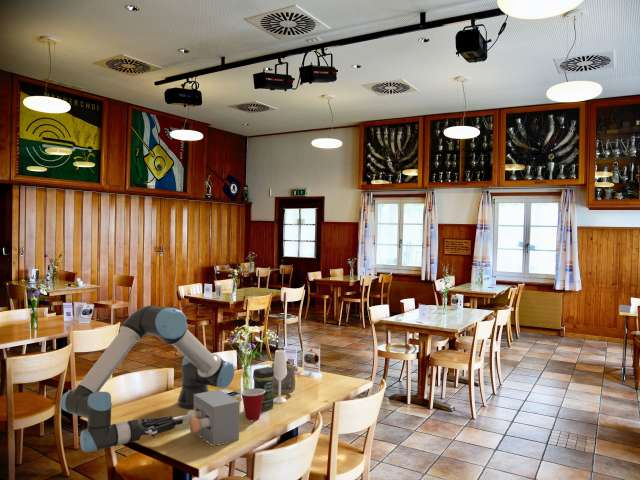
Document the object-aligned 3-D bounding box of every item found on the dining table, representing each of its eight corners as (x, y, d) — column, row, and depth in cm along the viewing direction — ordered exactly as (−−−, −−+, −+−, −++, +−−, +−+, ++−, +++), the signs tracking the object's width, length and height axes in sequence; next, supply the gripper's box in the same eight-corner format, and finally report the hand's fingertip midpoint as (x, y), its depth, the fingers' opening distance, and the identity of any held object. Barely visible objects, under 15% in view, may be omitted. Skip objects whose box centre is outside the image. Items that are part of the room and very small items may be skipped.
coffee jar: (259, 412, 224) (260, 371, 224) (249, 407, 230) (250, 367, 230) (276, 407, 231) (277, 368, 231) (266, 403, 237) (267, 364, 237)
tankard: (265, 388, 260) (266, 359, 260) (286, 384, 267) (287, 356, 267) (284, 399, 243) (284, 368, 243) (306, 395, 250) (306, 365, 250)
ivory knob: (186, 422, 198) (187, 409, 198) (213, 416, 205) (213, 403, 205) (192, 426, 194) (192, 412, 194) (219, 420, 201) (219, 407, 201)
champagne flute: (273, 403, 237) (274, 352, 237) (271, 398, 244) (272, 349, 244) (287, 402, 239) (288, 352, 238) (285, 397, 245) (286, 349, 245)
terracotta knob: (189, 430, 190) (189, 416, 190) (216, 423, 197) (216, 410, 197) (194, 435, 186) (194, 421, 186) (222, 428, 193) (222, 414, 193)
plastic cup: (253, 411, 225) (253, 385, 225) (269, 417, 218) (270, 390, 218) (234, 418, 217) (235, 390, 217) (251, 424, 210) (252, 396, 210)
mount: (193, 431, 202) (193, 394, 202) (218, 425, 209) (218, 389, 209) (212, 446, 188) (213, 407, 188) (238, 439, 195) (239, 401, 194)
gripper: (122, 436, 186) (182, 422, 201) (133, 448, 176) (196, 433, 191) (122, 416, 186) (182, 404, 201) (133, 427, 176) (196, 413, 190)
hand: (189, 418), depth 196 cm, fingers closed
